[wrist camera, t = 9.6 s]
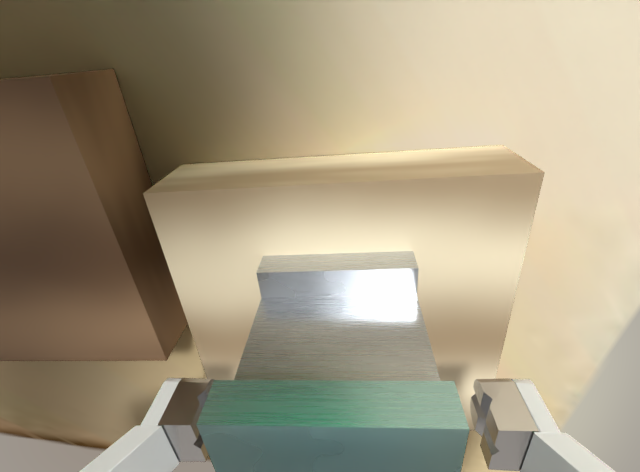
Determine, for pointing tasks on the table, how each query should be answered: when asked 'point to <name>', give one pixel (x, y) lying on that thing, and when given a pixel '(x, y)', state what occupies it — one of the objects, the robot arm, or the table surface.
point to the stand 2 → (354, 240)
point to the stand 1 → (78, 227)
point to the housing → (336, 375)
